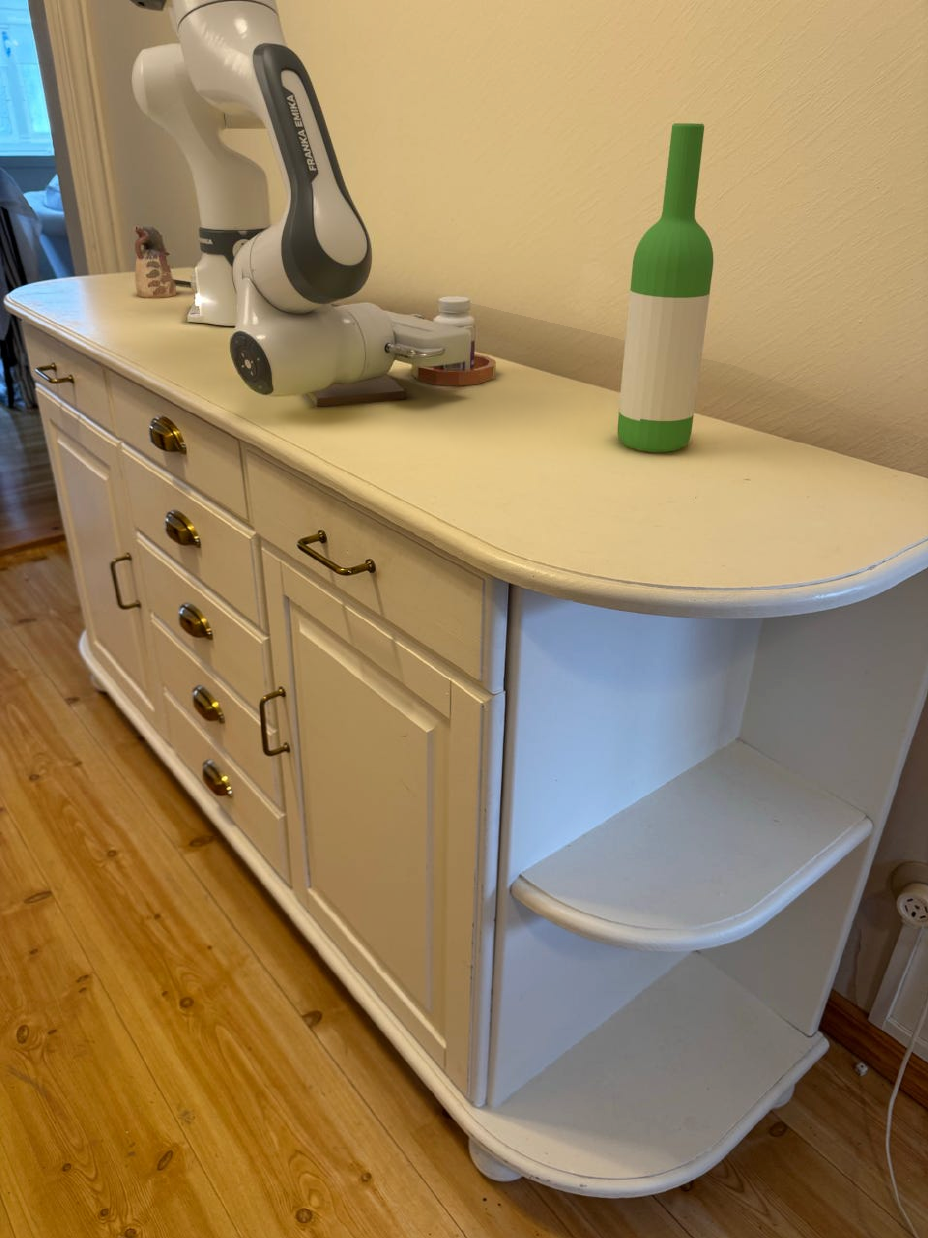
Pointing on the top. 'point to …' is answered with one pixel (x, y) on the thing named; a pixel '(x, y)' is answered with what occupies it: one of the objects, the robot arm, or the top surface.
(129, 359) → the top surface
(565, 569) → the top surface
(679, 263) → the wine bottle
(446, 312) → the pill bottle
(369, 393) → the board
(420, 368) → the ring
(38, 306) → the top surface
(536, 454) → the top surface
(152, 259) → the figurine
